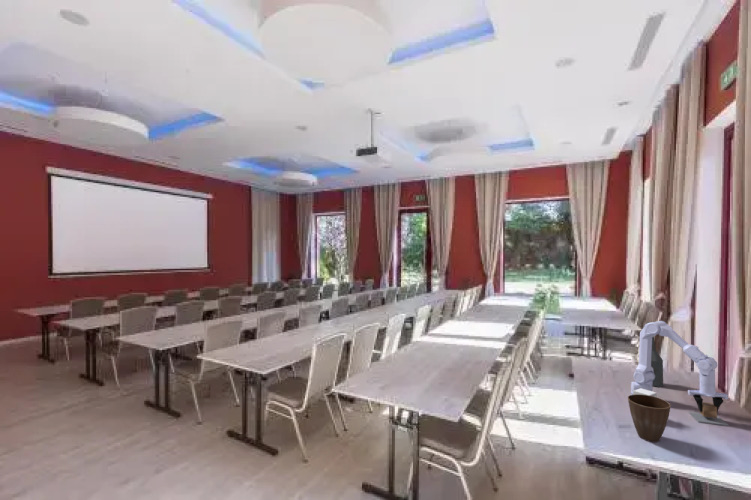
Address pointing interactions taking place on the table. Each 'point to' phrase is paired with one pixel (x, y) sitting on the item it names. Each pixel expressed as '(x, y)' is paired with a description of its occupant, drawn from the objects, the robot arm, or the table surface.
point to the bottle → (656, 366)
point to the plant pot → (649, 416)
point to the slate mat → (708, 419)
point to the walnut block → (709, 410)
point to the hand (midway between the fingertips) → (707, 411)
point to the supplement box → (645, 392)
